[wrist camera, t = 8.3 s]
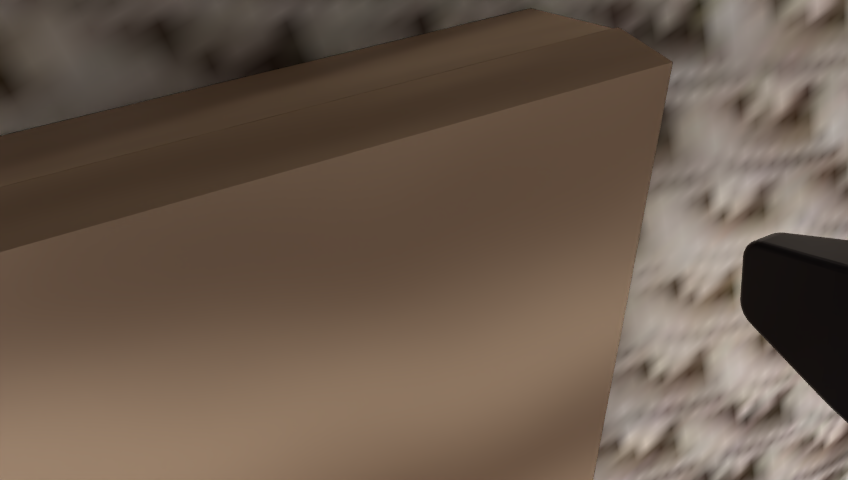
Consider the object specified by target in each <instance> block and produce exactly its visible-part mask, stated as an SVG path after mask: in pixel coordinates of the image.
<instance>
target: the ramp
mask: <svg viewBox="0 0 848 480" xmlns="http://www.w3.org/2000/svg"><path fill="white" fill-rule="evenodd" d="M672 64H673V62H672V61H670V60H669V59H667V58H666V57H664V56H663V55H661V54H660V53H658V52H656V51H655V50H653V49H652V48H650V47H649V46H647V45H646V44H644V43H643V42H641V41H639V40H638V39H636V38H635V37H633V36H632V35H630V34H629V33H627V32H625V31H624V30H622V29H621V28H619V27H617V28H610V27H606V26H601V25H597V24H593V23H589V22H585V21H581V20H577V19H573V18H569V17H564V16H560V15H556V14H552V13H548V12H544V11H540V10H536V9H532V8H530V9H526V10H522V11H517V12H513V13H509V14H505V15H501V16H497V17H492V18H488V19H484V20H480V21H476V22H472V23H468V24H463V25H459V26H455V27H451V28H447V29H443V30H438V31H434V32H430V33H426V34H422V35H418V36H414V37H409V38H405V39H401V40H397V41H393V42H389V43H384V44H380V45H376V46H372V47H368V48H364V49H360V50H355V51H351V52H347V53H343V54H339V55H335V56H330V57H326V58H322V59H318V60H314V61H310V62H306V63H301V64H297V65H293V66H289V67H285V68H281V69H276V70H272V71H268V72H264V73H260V74H256V75H252V76H247V77H243V78H239V79H235V80H231V81H227V82H222V83H218V84H214V85H210V86H206V87H202V88H198V89H193V90H189V91H185V92H181V93H177V94H173V95H168V96H164V97H160V98H156V99H152V100H148V101H144V102H139V103H135V104H131V105H127V106H123V107H119V108H114V109H110V110H106V111H102V112H98V113H94V114H90V115H85V116H81V117H77V118H73V119H69V120H65V121H60V122H56V123H52V124H48V125H44V126H40V127H36V128H31V129H27V130H23V131H19V132H15V133H11V134H6V135H2V136H0V480H593V477H594V472H595V466H596V461H597V456H598V451H599V445H600V440H601V435H602V430H603V424H604V419H605V414H606V409H607V404H608V398H609V393H610V388H611V383H612V377H613V372H614V367H615V362H616V356H617V351H618V346H619V341H620V336H621V330H622V325H623V320H624V315H625V309H626V304H627V299H628V294H629V288H630V283H631V278H632V273H633V268H634V262H635V257H636V252H637V247H638V241H639V236H640V231H641V226H642V220H643V215H644V210H645V205H646V200H647V194H648V189H649V184H650V179H651V173H652V168H653V163H654V158H655V152H656V147H657V142H658V137H659V132H660V126H661V121H662V116H663V111H664V105H665V100H666V95H667V90H668V85H669V79H670V74H671V69H672Z"/></svg>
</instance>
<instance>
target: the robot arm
mask: <svg viewBox="0 0 848 480" xmlns="http://www.w3.org/2000/svg"><path fill="white" fill-rule="evenodd" d="M740 302H741V307H742V310H743V313H744V315H745V317H746V318H747V320H748V321H749V322H750V323H751V324H752V325H753V326H754V328H755V329H756V330H757V331H758V332H759V333H760V334H761V335H762V336H763V337H764V338H765V339H766V340H767V341H768V342H769V343H770V344H771V345H772V346H773V347H774V348H775V350H776V351H777V352H778V353H779V354H780V355H781V356H782V357H783V358H784V359H785V360H786V361H787V362H788V363H789V364H790V365H791V366H792V367H793V368H794V369H795V371H796V372H797V373H798V374H799V375H800V376H801V377H802V378H803V379H804V380H805V381H806V382H807V383H808V384H809V385H810V386H811V387H812V388H813V389H814V390H815V391H816V393H817V394H818V395H819V396H820V397H821V398H822V399H823V400H824V401H825V402H826V403H827V404H828V405H829V406H830V407H831V408H832V409H833V410H834V411H835V412H836V413H837V414H839V415H840V416H841V417H842V418H843V419H844V420H845V421H846V422H847V423H848V240H841V239H833V238H824V237H815V236H807V235H798V234H790V233H774V234H771V235H768V236H766V237H763V238H760V239H758V240H755V241H753V242H751V243H750V244H749V245H748V246H747V247H746V249H745V251H744V255H743V266H742V282H741V297H740Z"/></svg>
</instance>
